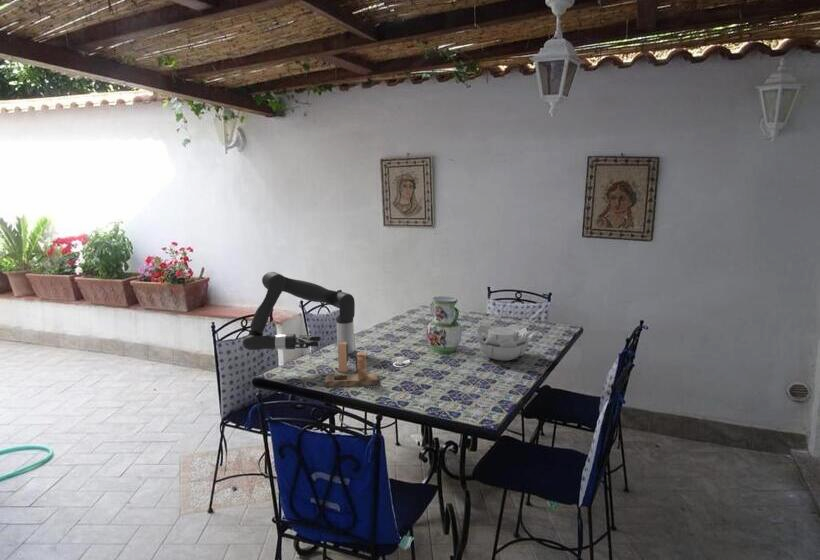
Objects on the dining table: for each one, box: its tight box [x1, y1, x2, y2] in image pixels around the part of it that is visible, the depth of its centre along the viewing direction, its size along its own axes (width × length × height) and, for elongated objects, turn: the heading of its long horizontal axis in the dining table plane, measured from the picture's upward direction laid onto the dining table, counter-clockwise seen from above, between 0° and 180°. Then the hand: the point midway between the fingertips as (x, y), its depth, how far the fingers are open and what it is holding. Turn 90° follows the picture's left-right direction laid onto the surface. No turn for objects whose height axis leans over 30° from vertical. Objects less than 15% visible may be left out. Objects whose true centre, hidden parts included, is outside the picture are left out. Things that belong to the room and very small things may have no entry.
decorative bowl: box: [474, 323, 535, 362], centre depth 273 cm, size 30×30×15 cm
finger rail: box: [324, 351, 379, 388], centre depth 242 cm, size 24×8×14 cm, turn 93°
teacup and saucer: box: [392, 355, 411, 368], centre depth 266 cm, size 9×8×4 cm
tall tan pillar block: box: [337, 342, 349, 373], centre depth 258 cm, size 5×4×14 cm
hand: (319, 341), depth 256 cm, fingers open, 8 cm apart
